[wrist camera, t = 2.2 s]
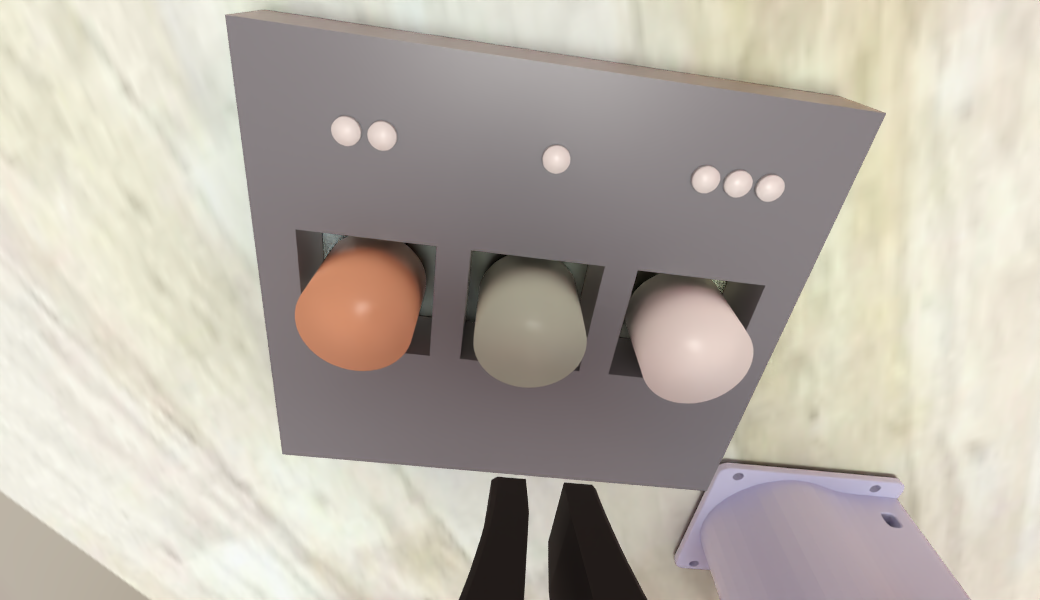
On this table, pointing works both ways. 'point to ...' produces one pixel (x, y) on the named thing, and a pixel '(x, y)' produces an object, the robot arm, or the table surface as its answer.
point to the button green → (529, 322)
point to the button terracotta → (362, 304)
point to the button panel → (525, 232)
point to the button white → (687, 338)
